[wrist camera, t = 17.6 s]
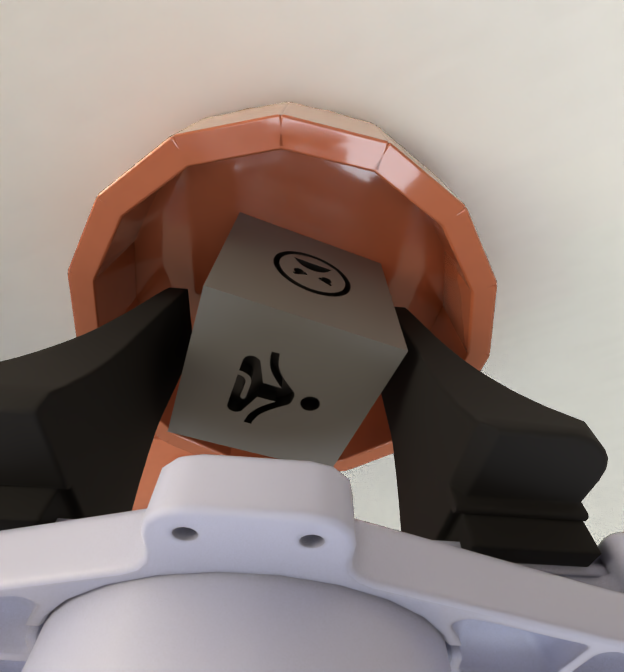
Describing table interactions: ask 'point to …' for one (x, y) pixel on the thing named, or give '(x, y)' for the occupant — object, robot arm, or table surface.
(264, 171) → the basin
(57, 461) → the robot arm
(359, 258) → the dice cube
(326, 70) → the table surface
